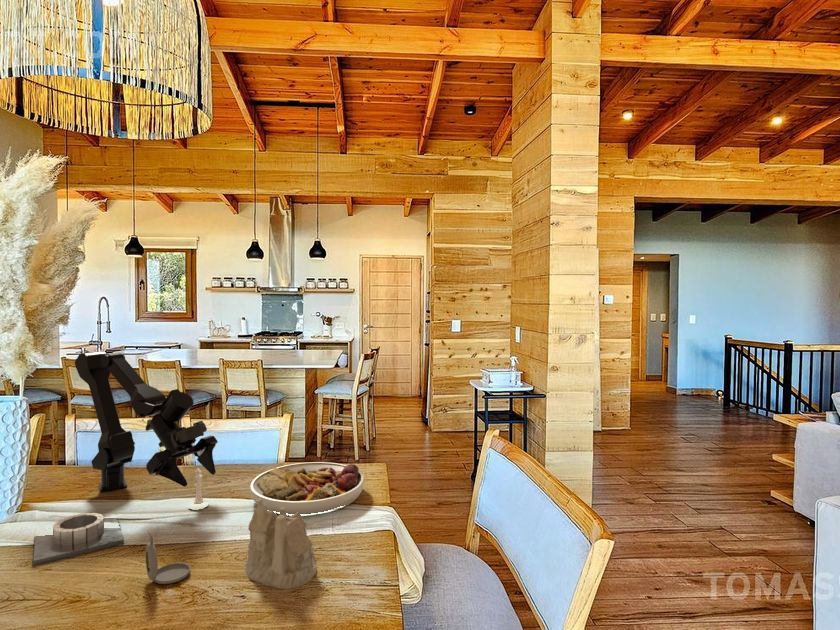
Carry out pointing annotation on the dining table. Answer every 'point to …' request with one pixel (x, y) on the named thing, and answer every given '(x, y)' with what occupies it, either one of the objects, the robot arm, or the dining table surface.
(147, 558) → the pocket watch
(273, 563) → the grey brown rock formation
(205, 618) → the dining table surface
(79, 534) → the lens mount
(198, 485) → the chess piece
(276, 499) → the bowl
